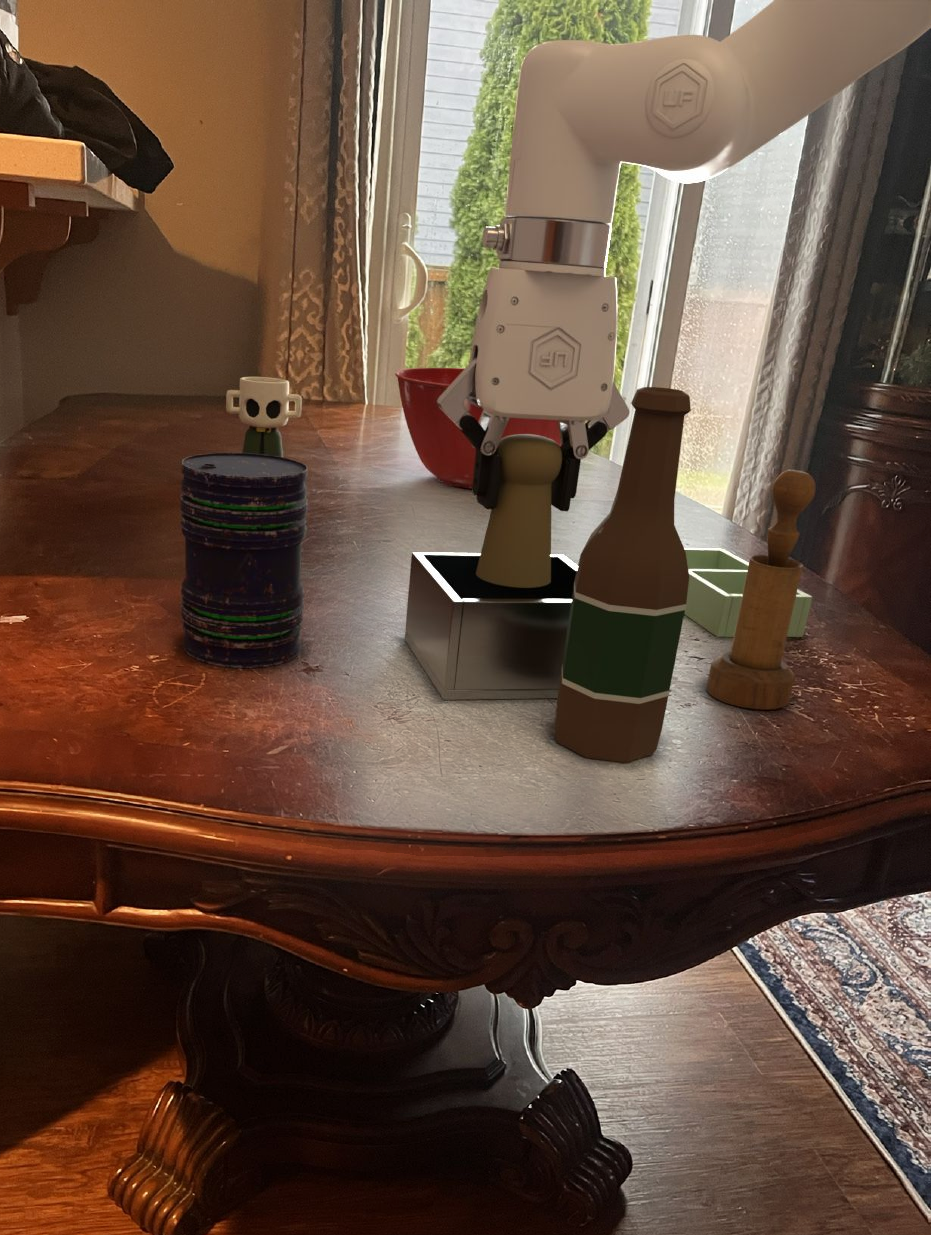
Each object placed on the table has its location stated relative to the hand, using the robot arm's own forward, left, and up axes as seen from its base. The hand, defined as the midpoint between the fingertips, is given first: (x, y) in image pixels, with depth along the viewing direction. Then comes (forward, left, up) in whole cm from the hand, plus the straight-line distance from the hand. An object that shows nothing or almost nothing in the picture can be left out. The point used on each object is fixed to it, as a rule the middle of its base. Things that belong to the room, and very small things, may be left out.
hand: (522, 503), depth 81 cm
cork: (0, 0, -6) cm, 6 cm away
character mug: (+12, -81, -14) cm, 83 cm away
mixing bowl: (-21, -78, -14) cm, 82 cm away
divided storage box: (-28, -16, -14) cm, 35 cm away
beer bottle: (-3, +15, -14) cm, 20 cm away
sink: (0, 0, -14) cm, 14 cm away
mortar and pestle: (-19, +7, -14) cm, 24 cm away
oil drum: (+21, -5, -14) cm, 26 cm away
